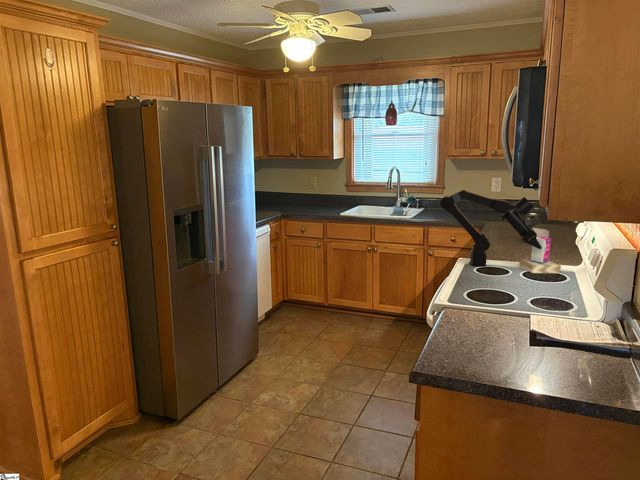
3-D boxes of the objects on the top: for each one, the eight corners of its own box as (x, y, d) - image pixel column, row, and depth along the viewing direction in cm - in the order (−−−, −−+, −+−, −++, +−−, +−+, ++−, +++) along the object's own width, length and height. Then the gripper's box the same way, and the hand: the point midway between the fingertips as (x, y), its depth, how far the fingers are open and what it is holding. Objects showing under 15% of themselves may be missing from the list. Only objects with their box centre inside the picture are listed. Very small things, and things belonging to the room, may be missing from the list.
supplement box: (541, 263, 221) (544, 239, 219) (530, 261, 226) (532, 237, 224) (549, 262, 225) (551, 238, 222) (537, 259, 229) (539, 236, 227)
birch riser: (531, 273, 219) (532, 265, 219) (519, 266, 232) (520, 258, 231) (560, 273, 220) (560, 265, 219) (546, 266, 233) (546, 258, 232)
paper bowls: (550, 245, 284) (551, 232, 283) (522, 244, 289) (523, 230, 287) (545, 241, 299) (547, 228, 297) (519, 239, 303) (520, 227, 301)
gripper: (533, 212, 214) (557, 239, 213) (528, 208, 231) (551, 232, 230) (512, 229, 217) (536, 255, 216) (509, 223, 235) (531, 247, 234)
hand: (539, 246), depth 224 cm, fingers open, 9 cm apart
